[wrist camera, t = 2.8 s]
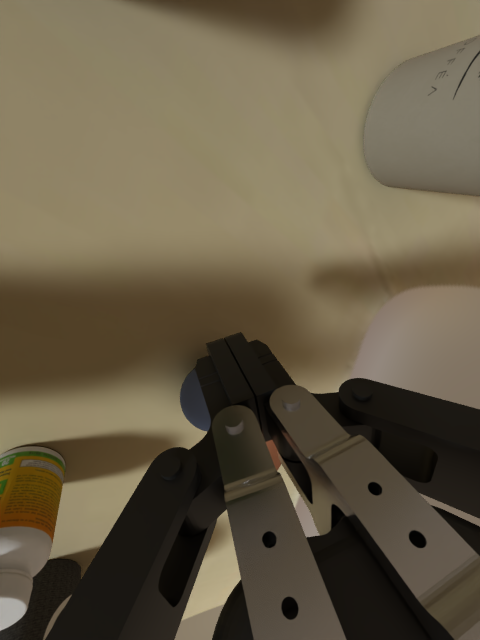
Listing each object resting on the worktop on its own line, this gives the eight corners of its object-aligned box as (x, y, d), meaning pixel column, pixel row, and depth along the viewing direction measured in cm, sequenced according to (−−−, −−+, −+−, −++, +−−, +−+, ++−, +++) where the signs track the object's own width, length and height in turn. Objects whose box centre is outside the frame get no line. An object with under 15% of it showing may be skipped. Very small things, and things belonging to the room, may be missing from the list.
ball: (184, 407, 27) (196, 458, 23) (167, 361, 24) (178, 408, 20) (240, 386, 28) (262, 430, 24) (230, 340, 25) (254, 380, 21)
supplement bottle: (12, 435, 23) (-47, 588, 15) (80, 454, 26) (61, 590, 18) (-27, 482, 23) (-105, 652, 15) (43, 495, 26) (8, 644, 18)
